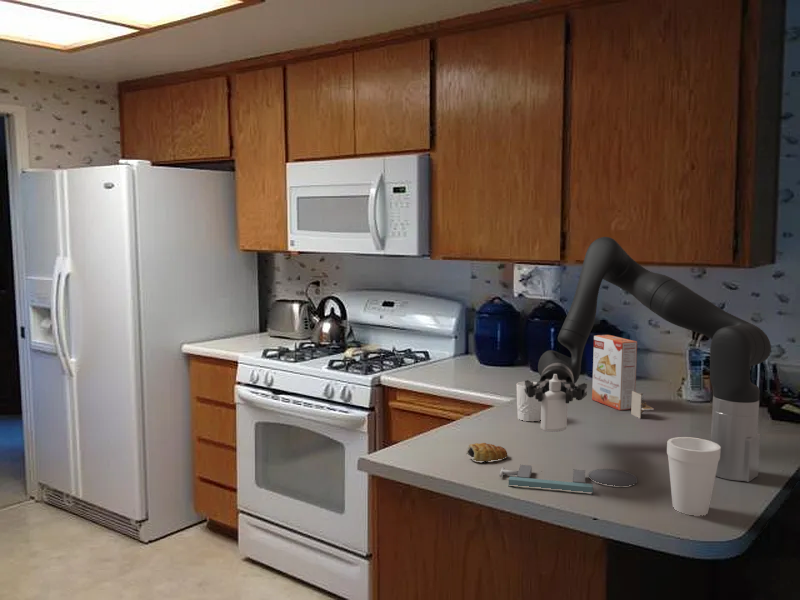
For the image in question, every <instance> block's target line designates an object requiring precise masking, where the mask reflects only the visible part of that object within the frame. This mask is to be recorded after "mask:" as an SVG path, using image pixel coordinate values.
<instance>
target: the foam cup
mask: <svg viewBox="0 0 800 600" xmlns="http://www.w3.org/2000/svg"><path fill="white" fill-rule="evenodd" d="M666 443H667V444H666V454H667V459H668V470H669V471H668V472H669V481H670V482H669V483H670V491H671V492H670V493H671V503H672V508H673V507H674V509H675V510H677V511H679V512H682V513H685V514H689V515H694V516H693V517H703V515H704V516H706V514H707V515H708V513H709V509H710V504H711V499H712V495H713V490H714V485H715V480H716V477H717V476H716V471H717V466H718V461H719V460H720V450H721V447H720V446H719V445H718V444H717V443H714V442H712V441H711V440H708V439H704V438H698V437H690V436H681V437H680V436H679V437H678V436H676V437H672V438H669V439H668V440H667V442H666ZM674 509H673V510H674ZM675 510H674V511H675ZM677 511H676V512H677ZM679 512H678V513H679ZM685 514H684V515H685ZM689 515H688V516H689ZM700 515H702V516H700Z"/></svg>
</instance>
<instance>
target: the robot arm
mask: <svg viewBox="0 0 800 600" xmlns="http://www.w3.org/2000/svg"><path fill="white" fill-rule="evenodd" d="M580 271H581V272H580V274H579V279H578V283H577V285H576V289H575V293H574V296H573V300H572V303H571V305H570V308H569V310H568V312H567V314H566V317H565V319H564V322H563V324H562V326H561V328H560V330H559V333H558V336H557V341H558V343H560V345H562V346H563V347H565V348H566V349H567V350H568V351H569V352H570V355H571V357H569V356H567V355H565V354H562V353H560V352H558V351H556V350H551V349H549V350H546V351H544V352H543V353H542V355H540V358H539V359H538V364H537V370H538V375H540V376H539V377H540V379H539V381H536V382H537V383H536V384H533V382H534V381H531V380H529V379H527V380H524V382H525V393H526V394H527V396H528V397H534V396H535V399H538V402H542V395H543V394H544V393H546V392H548V391H549V380H551V379H553V375H554V374H557V377H558V380H560V381H561V390H560V391H562V392H564V393H566V403H567V404H570V402H573V400H574V399H575V400H576V401H581V400H583V399H584V398H585V397H586V396H587V395H588V384H587V383H585V382H583V383H581V384H580V383H579V384H578V385H576V383H577V382H578V380H579V378H580V376H581V375H580V374H581V370H582V368H581V366H582V360H583V358H582V357H583V355H584V354H583V352H584V349H585V347H586V344H587V341H588V338H589V337H590V334H591V332H592V330H593V327H594V324H595V321H596V314H597V309H598V307H597V306H598V298H599V291H600V288H601V286H602V282H603V281H606V282H607V283H610V284H612V285H614V286H616V287H619V288H620V289H622V290H624V291H625V292H628V293H629V294H630V295H632V296H633V297H634V299H636V300H637V301H638V302H639V303H641V304H642V305H643V306H644V307H646V308H647V309H648V310H650V311H651V312H653V313H654V314H656V315H657V316H658V317H660V318H662V319H663V320H665V321H666V322H668V323H670V324H673V325H674V326H677V327H680V328H682V329H686V330H687V331H692V332H695V333H697V334H700V335H703V336H705V337H707V338H710V339H711V342H710V345H709V346H710V349H709V380H710V383H711V387H712V390H713V391H712V392H713V393H712V407H711V408H712V411H711V425H710V426H711V427H710V441H712V442H714V443H717V444H718V445H719V446H720V447H721V450H720V460H719V461H718V466H717V471H716V476H715V477H718V478H721V479H725V480H730V481H742V482H747V483H749V482H750V481H752V480H754V479H755V478H757V477H758V476H759V468H760V467H759V466H760V449H761V447H760V446H761V433H760V432H758V427H759V425H758V424H759V412H760V411H759V410H760V409H759V408H760V397H761V396H760V394H761V391H760V388H759V386H758V385H756V384H754V383H752V381H751V375H750V374H751V367H752V366H753V367H754V366H756V365H759V364H761V363H763V362H765V361H766V360H768V358H769V357H770V354H771V351H772V346H771V341H770V339H769V337H768V336H767V334H766V332H764V330H763V329H761V328H760V327H759V326H757V325H755V324H752V323H751V322H748V321H746V320H744V319H741V318H739V317H738V316H736V315H733V314H731V313H729V312H727V311H726V310H724V309H722V308H720V307H718V306H717V305H715V303H713V302H711V301H709V300H708V299H706V298H705V297H704V296H701V295H700V294H698V293H696V292H695V291H693V290H692V289H690V288H689V287H688V286H686V285H684V284H682V283H681V282H679V281H678V280H676V279H675V278H673V277H670V276H669V275H665V274H661V273H658V272H654V271H651V270H648V269H647V268H645V267H644V266H642V265H641V264H639V263H637V262H636V260H634V259H633V258H632V257H631V256H630V255H629V254H628V253H627V251H625V250H624V248H623V247H622V246H621V244H619V242H617V240H616V239H614V238H612V237H610V236H609V237H608V236H602V237H598V238H597V239H595V240H594V241H593V242H591V243H590V245H588V248H587V249H586V253H585V255H584V259H583V262H582V268H581V270H580Z"/></svg>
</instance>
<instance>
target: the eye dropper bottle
mask: <svg viewBox="0 0 800 600" xmlns="http://www.w3.org/2000/svg"><path fill="white" fill-rule="evenodd" d="M560 390H561V381H560V380H558V377H557V374H554V375H553V379H551V380H549V391H548V392H546V393H544V394H543V395H542V402H541V421H540V429H541V430H542V431H544V432H546V433H553V432H554V433H555V432H557V433H558V432H563V431H565V430H566V429H567V427H568V403H566V393H564V392H562V391H560Z"/></svg>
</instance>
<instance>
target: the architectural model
mask: <svg viewBox="0 0 800 600" xmlns="http://www.w3.org/2000/svg"><path fill="white" fill-rule="evenodd" d="M643 395H644V393H643V392H636V391H635V392H634V391H632V403H631V409H630V410H631V411H630V415H632V416H634V417H635V418H637V417H638V419H640V420H641V418H642V413H643V412H644V411H654V408H653V407H652V406H650V405H648V404H647V402H646V401H644V402H643V399H644V397H643Z"/></svg>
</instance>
